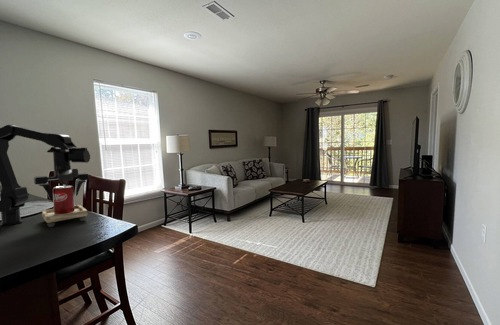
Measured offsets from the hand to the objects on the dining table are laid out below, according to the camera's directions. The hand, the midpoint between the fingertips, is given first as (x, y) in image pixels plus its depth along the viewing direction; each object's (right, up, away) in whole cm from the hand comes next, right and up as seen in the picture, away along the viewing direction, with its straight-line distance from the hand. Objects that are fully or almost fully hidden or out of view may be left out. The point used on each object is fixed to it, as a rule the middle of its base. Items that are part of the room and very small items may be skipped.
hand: (63, 197), depth 104 cm
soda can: (0, -7, +1) cm, 7 cm away
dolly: (0, -11, +1) cm, 11 cm away
